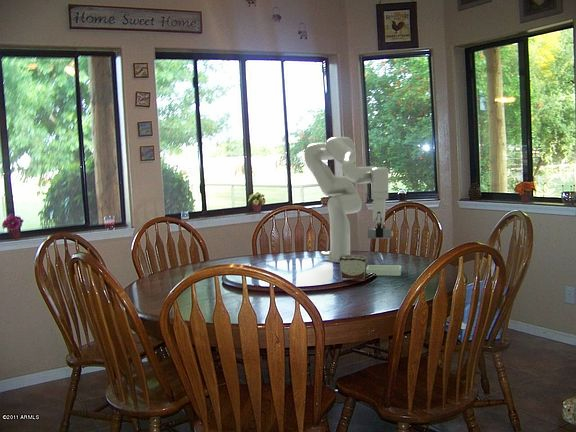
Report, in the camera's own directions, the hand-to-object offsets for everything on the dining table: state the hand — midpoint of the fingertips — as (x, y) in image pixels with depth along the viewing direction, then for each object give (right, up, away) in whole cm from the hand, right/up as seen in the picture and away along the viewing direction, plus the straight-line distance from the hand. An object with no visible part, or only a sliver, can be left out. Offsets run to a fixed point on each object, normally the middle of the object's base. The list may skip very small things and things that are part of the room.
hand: (379, 235), depth 288 cm
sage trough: (+1, -16, -9) cm, 18 cm away
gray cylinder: (0, -1, 0) cm, 1 cm away
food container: (-13, -18, -19) cm, 29 cm away
